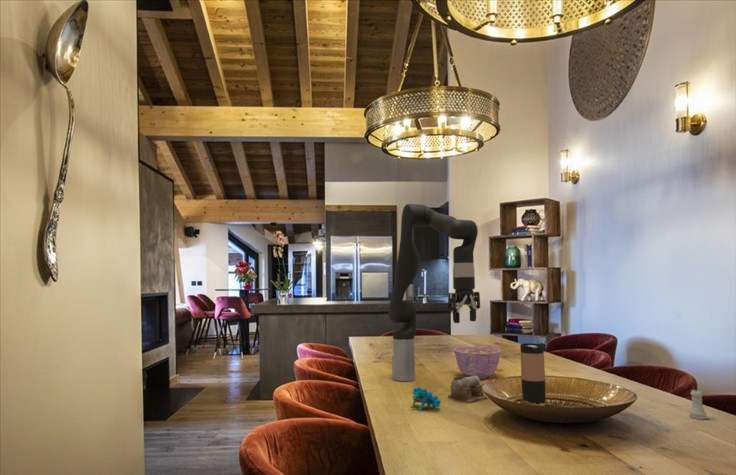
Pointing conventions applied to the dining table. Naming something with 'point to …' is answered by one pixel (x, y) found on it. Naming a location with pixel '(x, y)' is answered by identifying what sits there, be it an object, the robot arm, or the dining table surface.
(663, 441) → the dining table surface
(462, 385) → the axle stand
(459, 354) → the bowl of food
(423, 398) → the gear
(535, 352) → the travel mug
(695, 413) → the rook chess piece
